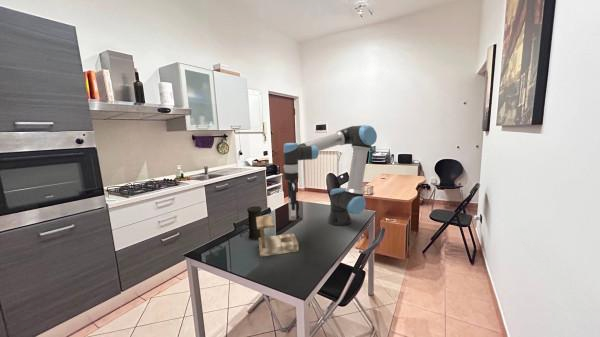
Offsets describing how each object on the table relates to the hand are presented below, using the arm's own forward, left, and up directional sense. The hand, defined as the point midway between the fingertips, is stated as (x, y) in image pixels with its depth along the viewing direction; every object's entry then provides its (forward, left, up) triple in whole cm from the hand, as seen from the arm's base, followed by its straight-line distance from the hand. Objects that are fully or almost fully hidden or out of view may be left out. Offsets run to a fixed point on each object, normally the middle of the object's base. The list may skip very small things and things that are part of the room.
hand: (292, 213), depth 134 cm
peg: (0, 0, -3) cm, 3 cm away
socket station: (+9, +2, -17) cm, 20 cm away
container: (+20, -16, -18) cm, 31 cm away
